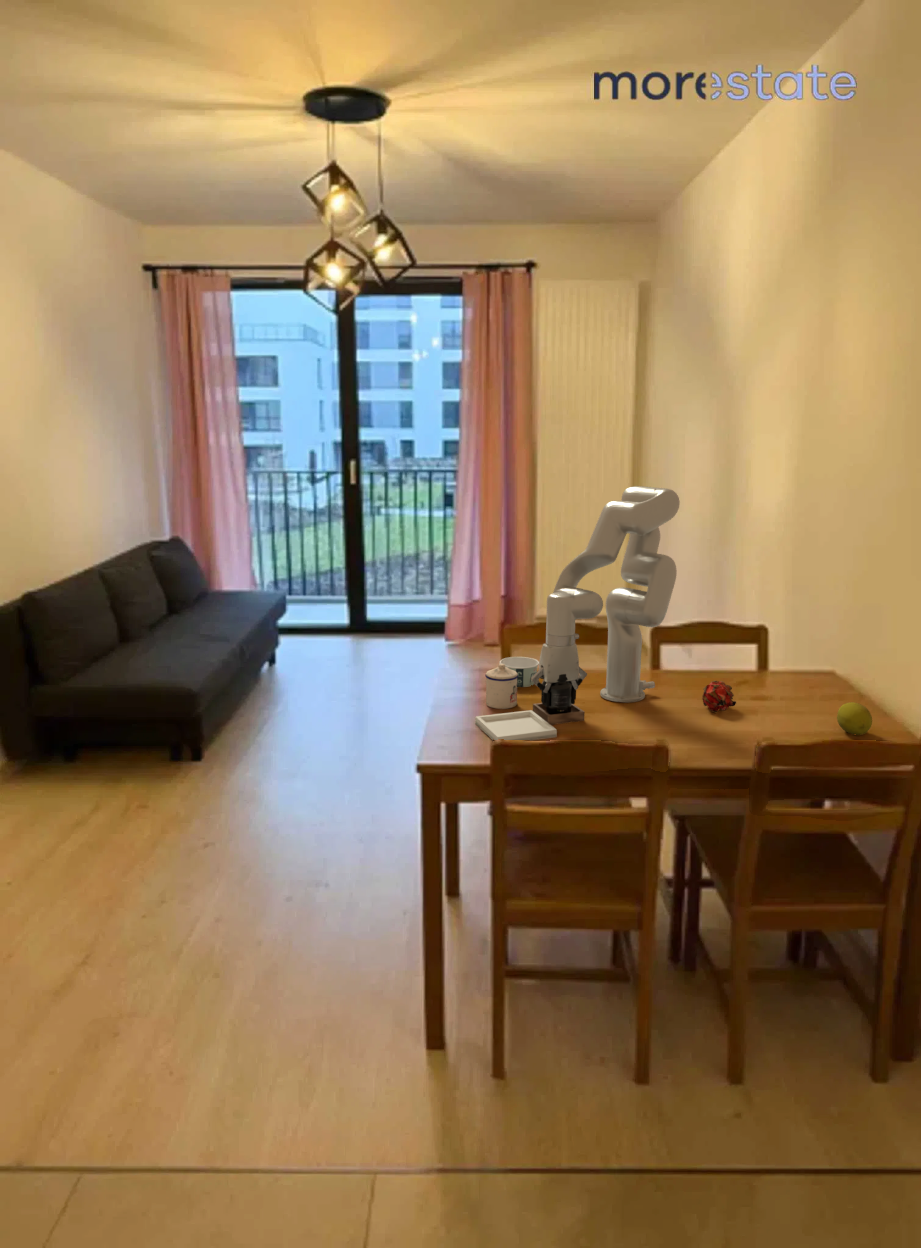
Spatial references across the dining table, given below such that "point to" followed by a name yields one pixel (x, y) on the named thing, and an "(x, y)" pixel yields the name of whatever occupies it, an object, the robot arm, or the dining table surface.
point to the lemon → (854, 718)
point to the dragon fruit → (718, 696)
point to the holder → (573, 716)
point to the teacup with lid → (501, 687)
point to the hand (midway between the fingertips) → (558, 703)
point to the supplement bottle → (560, 696)
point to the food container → (522, 669)
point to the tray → (516, 726)
